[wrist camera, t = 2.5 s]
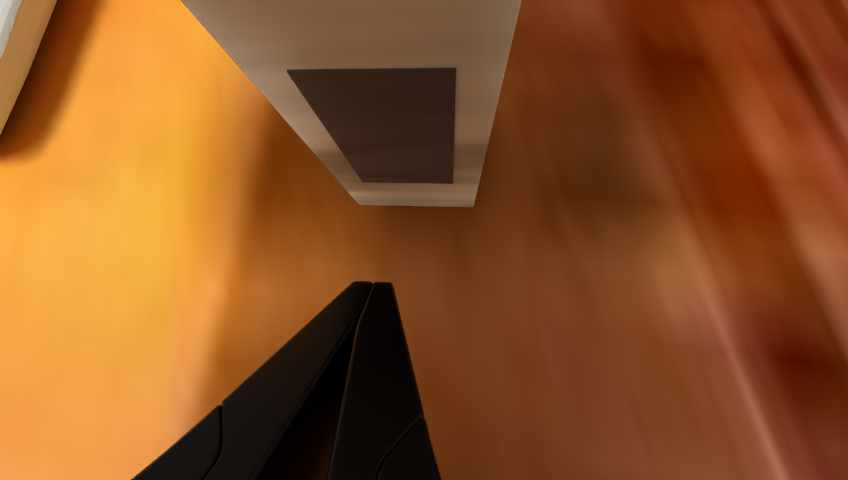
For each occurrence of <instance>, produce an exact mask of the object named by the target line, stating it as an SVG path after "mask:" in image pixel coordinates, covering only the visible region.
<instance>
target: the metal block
mask: <svg viewBox="0 0 848 480" xmlns="http://www.w3.org/2000/svg"><path fill="white" fill-rule="evenodd" d="M181 1H182V2H183V3H184V4H185V6H186V7H187V8H188V9H189V10H190V11H191V12H192V14H193V15H194V16H195V17H196V18H197V19H198V21H199V22H200V23H201V24H202V25H203V26H204V27H205V29H206V30H207V31H208V32H209V33H210V34H211V35H212V37H213V38H214V39H215V40H216V41H217V42H218V44H219V45H220V46H221V47H222V48H223V49H224V50H225V52H226V53H227V54H228V55H229V56H230V57H231V58H232V60H233V61H234V62H235V63H236V64H237V65H238V67H239V68H240V69H241V70H242V71H243V72H244V73H245V75H246V76H247V77H248V78H249V79H250V80H251V81H252V83H253V84H254V85H255V86H256V87H257V88H258V90H259V91H260V92H261V93H262V94H263V95H264V96H265V98H266V99H267V100H268V101H269V102H270V103H271V104H272V106H273V107H274V108H275V109H276V110H277V111H278V112H279V114H280V115H281V116H282V117H283V118H284V119H285V121H286V122H287V123H288V124H289V125H290V126H291V127H292V129H293V130H294V131H295V132H296V133H297V134H298V135H299V137H300V138H301V139H302V140H303V141H304V142H305V144H306V145H307V146H308V147H309V148H310V149H311V150H312V152H313V153H314V154H315V155H316V156H317V157H318V158H319V160H320V161H321V162H322V163H323V164H324V165H325V167H326V168H327V169H328V170H329V171H330V172H331V173H332V175H333V176H334V177H335V178H336V179H337V180H338V181H339V183H340V184H341V185H342V186H343V187H344V188H345V190H346V191H347V192H348V193H349V194H350V195H351V196H352V198H353V199H354V200H355V201H356V202H357V203H358V204H359V205H388V206H440V207H474V203H475V198H476V194H477V190H478V186H479V181H480V177H481V173H482V168H483V164H484V160H485V156H486V151H487V147H488V143H489V138H490V134H491V130H492V126H493V121H494V117H495V113H496V108H497V104H498V100H499V96H500V91H501V87H502V83H503V78H504V74H505V70H506V66H507V61H508V57H509V53H510V48H511V44H512V40H513V36H514V31H515V27H516V23H517V18H518V14H519V10H520V6H521V1H522V0H181Z"/></svg>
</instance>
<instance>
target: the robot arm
mask: <svg viewBox="0 0 848 480" xmlns="http://www.w3.org/2000/svg"><path fill="white" fill-rule="evenodd" d="M131 480H442V479H441V476H440V472H439V469H438V465H437V462H436V458H435V455H434V451H433V447H432V444H431V440H430V436H429V431H428V427H427V423H426V420H425V419H424V412H423V407H422V403H421V399H420V395H419V391H418V387H417V383H416V378H415V374H414V370H413V366H412V362H411V358H410V353H409V349H408V345H407V341H406V337H405V333H404V328H403V324H402V320H401V316H400V312H399V308H398V304H397V299H396V295H395V291H394V287H393V284H392V283H391V282H375V283H372V282H369V281H355V282H353V283H351V284H350V285H349V286H348V287H347V288H346V289H345V290H344V291H343V292H342V293H341V294H339V295H338V296H337V297H336V298H335V299H334V300H333V301H332V302H331V303H330V304H328V305H327V306H326V307H325V308H324V309H323V310H322V311H321V312H320V313H319V314H317V315H316V316H315V317H314V318H313V319H312V320H311V321H310V322H309V323H308V324H306V325H305V326H304V327H303V328H302V329H301V330H300V331H299V332H298V333H297V334H295V335H294V336H293V337H292V338H291V339H290V340H289V341H288V342H287V343H286V344H284V345H283V346H282V347H281V348H280V349H279V350H278V351H277V352H276V353H275V354H273V355H272V356H271V357H270V358H269V359H268V360H267V361H266V362H265V363H264V364H262V365H261V366H260V367H259V368H258V369H257V370H256V371H255V372H254V373H253V374H251V375H250V376H249V377H248V378H247V379H246V380H245V381H244V382H243V383H242V384H241V385H239V386H238V387H237V388H236V389H235V390H234V391H233V392H232V393H231V394H230V395H228V396H227V397H226V398H225V399H224V400H223V401H222V406H221V405H217V406H216V407H215V408H214V409H213V410H212V411H211V412H209V413H208V414H207V415H206V416H205V417H204V418H203V419H202V420H201V421H200V422H199V423H197V424H196V425H195V426H194V427H193V428H192V429H191V430H189V431H188V432H187V433H186V434H185V435H184V436H183V437H181V438H180V439H179V440H178V441H177V442H176V443H175V444H173V445H172V446H171V447H170V448H169V449H168V450H167V451H165V452H164V453H163V454H162V455H161V456H159V457H158V458H157V459H156V460H154V461H153V462H152V463H151V464H150V465H148V466H147V467H146V468H145V469H143V470H142V471H141V472H140V473H139V474H137V475H136V476H135V477H134V478H132V479H131Z"/></svg>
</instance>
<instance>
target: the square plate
mask: <svg viewBox="0 0 848 480" xmlns="http://www.w3.org/2000/svg"><path fill="white" fill-rule="evenodd" d="M56 2H57V0H0V134H1V132H2V130H3V128H4V126H5V123H6V121H7V119H8V117H9V115H10V113H11V110H12V108H13V106H14V104H15V102H16V100H17V97H18V95H19V93H20V91H21V89H22V86H23V84H24V82H25V80H26V77H27V75H28V73H29V70H30V68H31V65H32V63H33V60H34V58H35V55H36V52H37V50H38V47H39V45H40V42H41V40H42V37H43V35H44V32H45V30H46V27H47V25H48V22H49V20H50V17H51V14H52V12H53V9H54V7H55V4H56Z"/></svg>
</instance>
